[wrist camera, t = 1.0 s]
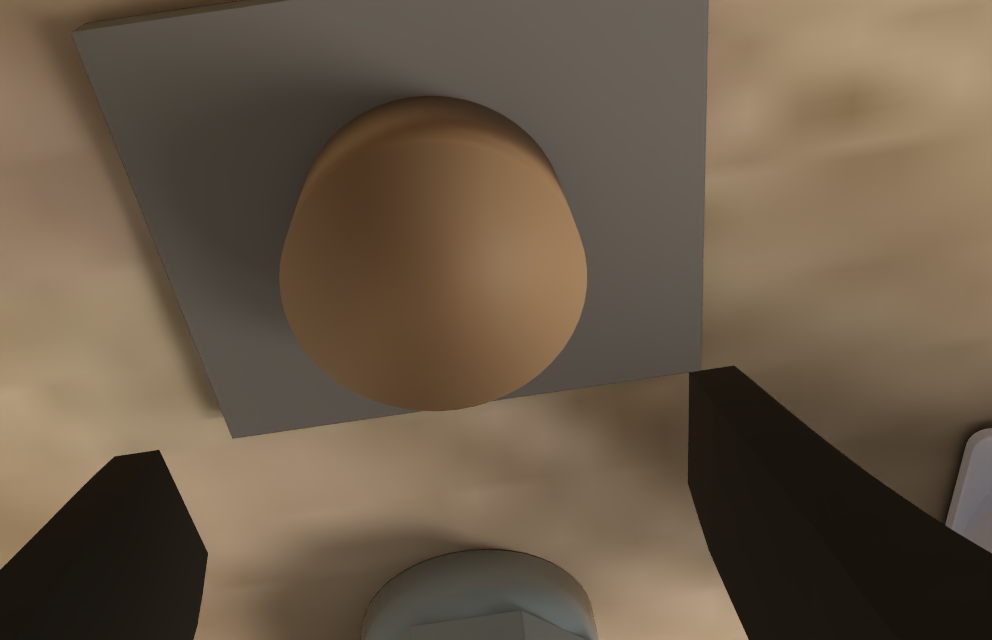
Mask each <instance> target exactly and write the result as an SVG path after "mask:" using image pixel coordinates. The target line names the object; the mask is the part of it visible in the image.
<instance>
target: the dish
mask: <svg viewBox="0 0 992 640" xmlns="http://www.w3.org/2000/svg"><path fill="white" fill-rule="evenodd" d="M361 640H598V635H597V630H596V626H595V621H594V616H593V611H592V607H591V603H590V600H589V598H588V596H587V594H586V592H585V591H584V589H583V588H582V586H581V585H580V584H579V583H578V582H577V581H576V580H575V579H574V577H572V576H571V575H570V574H568V573H567V572H566V571H564V570H563V569H561V568H559V567H558V566H556V565H554V564H552V563H550V562H548V561H545V560H543V559H541V558H537V557H534V556H531V555H527V554H523V553H517V552H512V551H502V550H473V551H463V552H457V553H452V554H447V555H443V556H440V557H436V558H433V559H430V560H427V561H425V562H422V563H420V564H417V565H415V566H413V567H411V568H409V569H407V570H405V571H404V572H402V573H401V574H399V575H398V576H396V577H395V578H393V579H392V580H391V581H389V582H388V583H387V584H386V585H385V586H384V587H383V588H382V589H381V590H380V591H379V592H378V593H377V594H376V596H375V597H374V598H373V600H372V601H371V603H370V605H369V606H368V608H367V611H366V613H365V616H364V620H363V626H362V637H361Z"/></svg>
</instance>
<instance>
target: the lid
mask: <svg viewBox="0 0 992 640" xmlns="http://www.w3.org/2000/svg"><path fill="white" fill-rule="evenodd" d="M279 282H280V295H281V300H282V304H283V308H284V312H285V315H286V318H287V320H288V323H289V325H290V328H291V330H292V332H293V333H294V335H295V337H296V339H297V340H298V342H299V344H300V345H301V347H302V348H303V349H304V351H305V352H306V353H307V355H308V356H309V357H310V358H311V360H312V361H313V362H314V363H315V364H316V365H317V366H318V367H319V368H320V369H321V370H322V371H324V372H325V373H326V374H327V375H329V376H330V377H331V378H332V379H334V380H335V381H336V382H338V383H339V384H341V385H343V386H344V387H346V388H348V389H349V390H351V391H353V392H355V393H357V394H359V395H361V396H363V397H365V398H368V399H370V400H373V401H376V402H379V403H382V404H385V405H389V406H393V407H398V408H403V409H410V410H419V411H446V410H457V409H463V408H468V407H473V406H477V405H480V404H484V403H487V402H490V401H493V400H496V399H498V398H500V397H502V396H505V395H507V394H509V393H511V392H513V391H515V390H516V389H518V388H520V387H522V386H523V385H525V384H527V383H528V382H529V381H531V380H532V379H533V378H535V377H536V376H538V375H539V374H540V373H541V372H542V371H543V370H544V369H545V368H546V367H548V366H549V365H550V364H551V363H552V362H553V360H554V359H555V358H556V357H557V356H558V355H559V353H560V352H561V351H562V350H563V348H564V347H565V345H566V344H567V342H568V341H569V339H570V337H571V336H572V334H573V332H574V330H575V328H576V326H577V323H578V321H579V319H580V316H581V312H582V309H583V306H584V302H585V295H586V289H587V265H586V258H585V252H584V248H583V245H582V242H581V238H580V235H579V232H578V230H577V227H576V224H575V222H574V219H573V216H572V214H571V211H570V208H569V206H568V203H567V201H566V198H565V195H564V193H563V190H562V187H561V185H560V182H559V179H558V177H557V175H556V173H555V171H554V168H553V166H552V164H551V162H550V161H549V159H548V158H547V156H546V155H545V153H544V151H543V150H542V148H541V147H540V146H539V145H538V144H537V143H536V142H535V140H534V139H533V138H532V137H531V136H530V135H529V134H528V133H527V132H526V131H524V130H523V129H522V128H521V127H520V126H519V125H517V124H516V123H515V122H513V121H512V120H510V119H509V118H507V117H506V116H504V115H502V114H501V113H499V112H497V111H494V110H492V109H490V108H488V107H486V106H484V105H480V104H477V103H474V102H471V101H468V100H463V99H458V98H452V97H444V96H420V97H409V98H405V99H400V100H395V101H391V102H388V103H386V104H383V105H380V106H377V107H374V108H372V109H370V110H369V111H367V112H365V113H363V114H361V115H359V116H357V117H356V118H354V119H353V120H352V121H350V122H349V123H347V124H346V125H344V126H343V127H342V128H341V129H340V130H339V131H338V132H337V133H336V134H335V135H333V136H332V137H331V138H330V139H329V141H328V142H327V143H326V144H325V146H324V147H323V148H322V149H321V151H320V152H319V154H318V155H317V157H316V159H315V160H314V162H313V164H312V166H311V167H310V170H309V172H308V175H307V177H306V180H305V182H304V185H303V188H302V191H301V194H300V197H299V200H298V203H297V206H296V209H295V212H294V215H293V219H292V222H291V225H290V228H289V231H288V234H287V237H286V240H285V243H284V247H283V251H282V256H281V260H280V273H279Z"/></svg>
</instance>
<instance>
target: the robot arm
mask: <svg viewBox="0 0 992 640" xmlns="http://www.w3.org/2000/svg"><path fill="white" fill-rule="evenodd" d="M688 485H689V488H690V491H691V495H692V498H693V501H694V504H695V508H696V511H697V514H698V518H699V521H700V524H701V527H702V530H703V533H704V536H705V540H706V543H707V546H708V549H709V551H710V554H711V556H712V558H713V561H714V563H715V565H716V567H717V570H718V572H719V574H720V576H721V579H722V581H723V583H724V585H725V588H726V590H727V592H728V594H729V597H730V599H731V601H732V603H733V606H734V608H735V610H736V612H737V614H738V617H739V619H740V621H741V623H742V625H743V628H744V630H745V632H746V634H747V637H748V639H749V640H992V428H988V429H983V430H980V431H978V432H976V433H975V434H973V435H972V436H971V437H970V438H969V440H968V442H967V444H966V447H965V451H964V455H963V459H962V463H961V467H960V470H959V474H958V478H957V482H956V486H955V490H954V493H953V497H952V501H951V505H950V509H949V512H948V516H947V520H946V524H945V525H944V524H942V523H941V522H939V521H938V520H936V519H934V518H933V517H931V516H930V515H928V514H927V513H925V512H924V511H922V510H921V509H919V508H918V507H916V506H915V505H913V504H912V503H911V502H909V501H908V500H906V499H905V498H903V497H902V496H900V495H899V494H897V493H896V492H894V491H893V490H892V489H890V488H889V487H887V486H886V485H884V484H883V483H881V482H880V481H879V480H877V479H876V478H875V477H873V476H872V475H870V474H869V473H868V472H866V471H865V470H864V469H862V468H861V467H860V466H858V465H857V464H856V463H854V462H853V461H852V460H850V459H849V458H848V457H847V456H845V455H844V454H843V453H841V452H840V451H839V450H837V449H836V448H835V447H833V446H832V445H831V444H830V443H828V442H827V441H826V440H824V439H823V438H822V437H821V436H819V435H818V434H817V433H816V432H814V431H813V430H812V429H810V428H809V427H808V426H807V425H806V424H804V423H803V422H802V421H801V420H799V419H798V418H797V417H796V416H795V415H793V414H792V413H791V412H790V411H788V410H787V409H786V408H785V407H784V406H782V405H781V404H780V403H779V402H778V401H776V400H775V399H774V398H773V397H772V396H770V395H769V394H768V393H767V392H766V391H764V390H763V389H762V388H761V387H760V386H758V385H757V384H756V383H755V382H754V381H753V380H751V379H750V378H749V377H748V376H746V375H745V374H744V373H743V372H741V371H740V370H739V369H738V368H736V367H735V366H729V367H722V368H715V369H709V370H702V371H695V372H689V442H688ZM207 557H208V552H207V550H206V548H205V546H204V544H203V542H202V540H201V538H200V535H199V533H198V531H197V529H196V527H195V525H194V523H193V521H192V518H191V516H190V514H189V512H188V510H187V508H186V506H185V504H184V501H183V499H182V497H181V495H180V493H179V491H178V489H177V487H176V484H175V482H174V480H173V478H172V476H171V474H170V472H169V470H168V467H167V465H166V463H165V461H164V459H163V457H162V455H161V453H160V451H159V450H156V451H149V452H142V453H136V454H129V455H122V456H115V457H114V458H113V459H111V460H110V461H109V462H108V463H107V464H106V465H105V466H104V467H103V468H102V469H101V470H99V471H98V472H97V473H96V474H95V475H94V476H93V477H92V478H91V479H90V480H89V481H88V482H87V483H86V484H85V485H84V486H83V487H82V488H81V489H80V490H79V491H78V492H77V493H76V494H75V495H74V496H73V497H72V498H71V499H70V500H69V501H68V502H67V503H66V504H65V505H64V506H63V507H62V508H61V509H60V510H59V511H58V512H57V513H56V514H55V515H54V516H53V517H52V518H51V519H50V521H49V522H48V523H47V524H46V525H45V526H44V527H43V528H42V529H41V530H40V531H39V532H38V533H37V534H36V535H35V536H34V537H33V538H32V539H31V540H30V541H29V542H28V543H27V544H26V545H25V546H24V547H23V548H22V549H21V550H20V551H19V552H18V553H17V554H16V555H15V556H14V557H13V558H12V559H11V560H10V561H9V562H8V563H7V564H6V565H5V566H4V567H3V568H2V569H1V570H0V640H193V639H194V635H195V632H196V628H197V624H198V618H199V612H200V606H201V600H202V594H203V587H204V579H205V572H206V564H207Z"/></svg>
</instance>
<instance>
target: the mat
mask: <svg viewBox="0 0 992 640" xmlns="http://www.w3.org/2000/svg"><path fill="white" fill-rule="evenodd" d="M708 4H709V0H242V1H235V2H228V3H221V4H214V5H207V6H201V7H194V8H187V9H180V10H173V11H166V12H160V13H153V14H146V15H139V16H132V17H125V18H118V19H112V20H105V21H98V22H91V23H86V24H84V25H82V26H81V27H79V28H77V29H75V30H74V31H72V32H71V35H72V37H73V40H74V42H75V45H76V47H77V50H78V52H79V55H80V57H81V60H82V62H83V65H84V67H85V70H86V72H87V75H88V78H89V80H90V83H91V85H92V88H93V90H94V93H95V95H96V98H97V100H98V103H99V105H100V108H101V110H102V113H103V115H104V118H105V120H106V123H107V125H108V128H109V130H110V133H111V135H112V138H113V140H114V143H115V145H116V148H117V150H118V153H119V155H120V158H121V160H122V163H123V165H124V168H125V170H126V173H127V175H128V178H129V180H130V183H131V185H132V188H133V190H134V193H135V195H136V198H137V200H138V203H139V205H140V208H141V210H142V213H143V215H144V218H145V220H146V223H147V225H148V228H149V230H150V233H151V235H152V238H153V240H154V243H155V245H156V248H157V250H158V253H159V256H160V258H161V261H162V263H163V266H164V268H165V271H166V273H167V276H168V278H169V281H170V283H171V286H172V288H173V291H174V293H175V296H176V298H177V301H178V303H179V306H180V308H181V311H182V313H183V316H184V318H185V321H186V323H187V326H188V328H189V331H190V333H191V336H192V338H193V341H194V343H195V346H196V348H197V351H198V353H199V356H200V358H201V361H202V363H203V366H204V368H205V371H206V373H207V376H208V378H209V381H210V383H211V386H212V388H213V391H214V393H215V396H216V398H217V401H218V403H219V406H220V408H221V411H222V413H223V416H224V418H225V421H226V423H227V426H228V428H229V431H230V433H231V436H232V439H233V438H240V437H247V436H254V435H261V434H268V433H275V432H282V431H288V430H295V429H302V428H309V427H316V426H323V425H330V424H337V423H344V422H350V421H357V420H364V419H371V418H378V417H385V416H392V415H399V414H406V413H412V412H419V410H410V409H403V408H398V407H393V406H389V405H385V404H382V403H379V402H376V401H373V400H370V399H368V398H365V397H363V396H361V395H359V394H357V393H355V392H353V391H351V390H349V389H348V388H346V387H344V386H343V385H341V384H339V383H338V382H336V381H335V380H334V379H332V378H331V377H330V376H329V375H327V374H326V373H325V372H324V371H322V370H321V369H320V368H319V367H318V366H317V365H316V364H315V363H314V362H313V361H312V360H311V358H310V357H309V356H308V355H307V353H306V352H305V351H304V349H303V348H302V347H301V345H300V344H299V342H298V340H297V339H296V337H295V335H294V333H293V332H292V330H291V328H290V325H289V323H288V320H287V318H286V315H285V312H284V308H283V304H282V300H281V295H280V282H279V273H280V260H281V256H282V251H283V247H284V243H285V240H286V237H287V234H288V231H289V228H290V225H291V222H292V219H293V215H294V212H295V209H296V206H297V203H298V200H299V197H300V194H301V191H302V188H303V185H304V182H305V180H306V177H307V175H308V172H309V170H310V167H311V166H312V164H313V162H314V160H315V159H316V157H317V155H318V154H319V152H320V151H321V149H322V148H323V147H324V146H325V144H326V143H327V142H328V141H329V139H330V138H331V137H332V136H333V135H335V134H336V133H337V132H338V131H339V130H340V129H341V128H342V127H343V126H344V125H346V124H347V123H349V122H350V121H352V120H353V119H354V118H356V117H357V116H359V115H361V114H363V113H365V112H367V111H369V110H370V109H372V108H374V107H377V106H380V105H383V104H386V103H388V102H391V101H395V100H400V99H405V98H409V97H420V96H444V97H452V98H458V99H463V100H468V101H471V102H474V103H477V104H480V105H484V106H486V107H488V108H490V109H492V110H494V111H497V112H499V113H501V114H502V115H504V116H506V117H507V118H509V119H510V120H512V121H513V122H515V123H516V124H517V125H519V126H520V127H521V128H522V129H523V130H524V131H526V132H527V133H528V134H529V135H530V136H531V137H532V138H533V139H534V140H535V142H536V143H537V144H538V145H539V146H540V147H541V148H542V150H543V151H544V153H545V155H546V156H547V158H548V159H549V161H550V162H551V164H552V166H553V168H554V171H555V173H556V175H557V177H558V179H559V182H560V185H561V187H562V190H563V193H564V195H565V198H566V201H567V203H568V206H569V208H570V211H571V214H572V216H573V219H574V222H575V224H576V227H577V230H578V232H579V235H580V238H581V242H582V245H583V248H584V252H585V258H586V265H587V289H586V295H585V302H584V306H583V309H582V312H581V316H580V319H579V321H578V323H577V326H576V328H575V330H574V332H573V334H572V336H571V337H570V339H569V341H568V342H567V344H566V345H565V347H564V348H563V350H562V351H561V352H560V353H559V355H558V356H557V357H556V358H555V359H554V360H553V362H552V363H551V364H550V365H549V366H548V367H546V368H545V369H544V370H543V371H542V372H541V373H540V374H539V375H538V376H536V377H535V378H533V379H532V380H531V381H529V382H528V383H527V384H525V385H523V386H522V387H520V388H518V389H516V390H515V391H513V392H511V393H509V394H507V395H505V396H502V397H500V398H498V399H496V400H502V399H509V398H516V397H523V396H530V395H536V394H543V393H550V392H557V391H564V390H571V389H578V388H585V387H592V386H599V385H605V384H612V383H619V382H626V381H633V380H640V379H647V378H654V377H661V376H667V375H674V374H681V373H688V372H695V371H701V344H702V295H703V247H704V198H705V150H706V101H707V53H708ZM493 401H495V400H493Z"/></svg>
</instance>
